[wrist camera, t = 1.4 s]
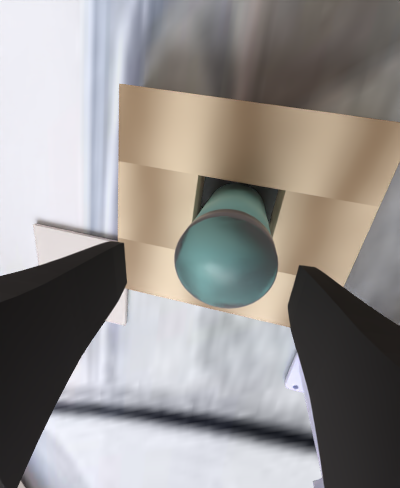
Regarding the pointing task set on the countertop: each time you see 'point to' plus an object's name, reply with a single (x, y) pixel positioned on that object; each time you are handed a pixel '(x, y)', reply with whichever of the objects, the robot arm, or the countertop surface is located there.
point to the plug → (228, 250)
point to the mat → (69, 242)
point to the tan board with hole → (250, 172)
